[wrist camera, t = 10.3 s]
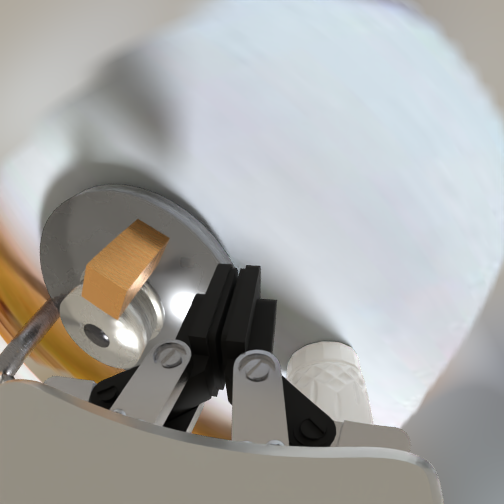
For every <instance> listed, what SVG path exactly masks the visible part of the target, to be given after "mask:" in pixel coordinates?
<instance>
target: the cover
mask: <svg viewBox="0 0 504 504" xmlns="http://www.w3.org/2000/svg"><path fill="white" fill-rule="evenodd" d="M85 270H86V269H85ZM85 270H84V271H83V273H82V275H81V278H80V283H79V284H78V285H77V286H76V287H75V288H74V289H73V290H72V291H71V292H70V293H69V294H68V295H67V296H66V297H65V298H64V300H63V301H62V302H61V304H60V317H61V320H62V323H63V325H64V327H65V329H66V331H67V332H68V334H69V335H70V337H71V338H72V339H73V340H74V342H75V343H76V344H77V345H78V346H79V347H80V348H81V349H82V350H84V351H85V352H86V353H87V354H89V355H90V356H91V357H93V358H94V359H96V360H98V361H100V362H102V363H104V364H106V365H109V366H112V367H115V368H122V369H124V368H131V367H133V366H135V365H136V364H137V362H138V360H139V359H140V357H141V355H142V353H143V351H144V349H145V347H146V345H147V344H148V342H149V340H151V339H153V338H155V337H156V336H157V335H158V334H159V332H160V330H161V329H162V327H163V325H164V321H165V310H164V306H163V303H162V301H161V299H160V297H159V295H158V293H157V292H156V290H155V289H154V287H153V286H152V285H151V284H150V283H149V281H148V280H146V282H145V283H144V284H143V286H142V287H141V288H140V290H139V291H138V292H137V294H136V295H135V297H134V298H133V299H132V301H131V302H130V304H129V305H128V306H127V308H126V309H125V311H124V312H123V313H122V315H121V316H120V318H119V319H118V320H116V319H115V318H113V317H111V316H110V315H108V314H107V313H105V312H104V311H102V310H101V309H99V308H98V307H96V306H95V305H93V304H92V303H90V302H89V301H88V300H86V299H85V298H83V297H82V296H81V295H82V288H83V282H84V276H85Z"/></svg>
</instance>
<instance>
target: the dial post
mask: <svg viewBox="0 0 504 504" xmlns="http://www.w3.org/2000/svg"><path fill="white" fill-rule="evenodd" d="M59 317H60V313H59V312H58V310H57V308H56V307H55V305H54V303H53V301H52V299H51V297H50V298H49V299H48V300H47V301H46V302H45V303H44V304H43V305H42V307H41V308H40V309H39V310H38V311H37V312H36V313H35V314H34V315H33V316H32V318H31V319H30V320H29V321H28V322H27V323H26V324H25V325H24V327H23V328H22V329H21V330H20V331H19V332H18V334H17V335H16V336H15V337H14V338H13V339H12V341H11V342H10V343H9V344H8V346H7V347H6V348H5V349H4V351H3V352H2V353H1V354H0V385H1V384H2V383H3V382H5V381H8V380H14V379H15V378H14V377H13V376H14V375H15V373H16V372H17V371H18V369H19V368H20V367H21V365H22V364H23V362H24V361H25V360H26V358H27V357H28V356H29V354H30V353H31V352H32V351H33V349H34V348H35V347H36V345H37V344H38V343H39V342H40V340H41V339H42V338H43V337H44V335H45V334H46V333H47V332H48V330H49V329H50V328H51V327H52V326H53V324H54V323H55V322H56V321H57V320H58V318H59Z"/></svg>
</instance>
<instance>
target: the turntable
mask: <svg viewBox="0 0 504 504" xmlns="http://www.w3.org/2000/svg"><path fill="white" fill-rule="evenodd" d="M40 263H41V270H42V274H43V278H44V282H45V285H46V287H47V290H48V293H49V295H50V297H51V299H52V301H53V303H54V305H55V307H56V308H57V310H58V312H59V313H60V304H61V302H62V301H63V300H64V298H65V297H66V296H67V295H68V294H69V293H70V292H71V291H72V290H73V289H74V288H75V287H76V286H77V285H78V284H79V283H80V278H81V275H82V273H83V271H84V270H85V269H86V270H85V276H84V282H83V288H82V295H81V296H82V297H83V298H85V299H86V300H88V301H89V302H90V303H92V304H93V305H95V306H96V307H98V308H99V309H101V310H102V311H104V312H105V313H107V314H108V315H110V316H111V317H113V318H115V319H116V320H118V319H119V318H120V316H121V315H122V313H123V312H124V311H125V309H126V308H127V306H128V305H129V304H130V302H131V301H132V299H133V298H134V297H135V295H136V294H137V292H138V291H139V290H140V288H141V287H142V286H143V284H144V283H145V282H146V280H148V281H149V283H150V284H151V285H152V286H153V287H154V289H155V290H156V292H157V293H158V295H159V297H160V299H161V301H162V303H163V306H164V310H165V321H164V325H163V327H162V329H161V330H160V332H159V334H158V335H157V336H156V337H155V338H153V339H151V340H149V342H148V344H147V345H146V347H145V349H144V351H143V353H142V355H141V357H140V359H139V360H138V362H137V364H136V365H135V366H133V367H136V366H138V365H140V364H141V363H142V362H143V360H144V359H145V357H146V356H147V354H148V353H149V352H150V350H151V349H152V348H153V347H154V346H155V345H156V344H157V343H159V342H161V341H164V340H168V339H176V336H177V334H178V332H179V330H180V327H181V325H182V323H183V321H184V318H185V316H186V314H187V312H188V310H189V307H190V305H191V303H192V301H193V299H194V296H195V295H196V294H197V293H199V294H205V293H206V291H207V288H208V286H209V284H210V281H211V279H212V277H213V274H214V272H215V269H216V267H217V265H218V264H219V263H221V264H232V262H231V260H230V258H229V257H228V255H227V253H226V252H225V250H224V249H223V248H222V246H221V245H220V244H219V242H218V241H217V240H216V238H215V237H214V236H213V235H212V234H211V233H210V232H209V231H208V230H207V229H206V227H205V226H204V225H203V224H202V223H200V222H199V221H198V220H197V219H196V218H195V217H193V216H192V215H191V214H190V213H189V212H187V211H186V210H184V209H183V208H181V207H180V206H178V205H177V204H175V203H174V202H172V201H171V200H169V199H167V198H165V197H163V196H161V195H159V194H157V193H154V192H151V191H148V190H146V189H143V188H140V187H135V186H130V185H123V184H107V185H100V186H96V187H93V188H90V189H87V190H85V191H83V192H81V193H79V194H77V195H75V196H74V197H72V198H70V199H68V200H67V201H65V202H63V203H62V204H61V205H60V206H59V207H57V208H56V209H55V210H54V211H53V213H52V214H51V216H50V217H49V218H48V220H47V222H46V225H45V227H44V229H43V233H42V237H41V243H40ZM232 265H233V264H232ZM233 268H235V267H234V265H233ZM133 367H131V368H133ZM131 368H124V370H129V369H131Z"/></svg>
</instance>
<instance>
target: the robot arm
mask: <svg viewBox="0 0 504 504" xmlns="http://www.w3.org/2000/svg"><path fill="white" fill-rule="evenodd" d="M260 276H261V268H260V266H251V265H246V268H245V269H242V268H241V270H240V273H239V276H238V270H237V268H233V265H232V264H221V263H219V264H218V265H217V267H216V269H215V272H214V274H213V277H212V279H211V281H210V284H209V286H208V288H207V291H206V293H205V294H199V293H197V294H196V295H195V296H194V299H193V301H192V303H191V305H190V307H189V310H188V312H187V314H186V316H185V318H184V321H183V323H182V325H181V327H180V330H179V332H178V334H177V336H176V339H168V340H164V341H161V342H159V343H157V344H156V345H155V346H154V347H153V348H152V349H151V350H150V352H149V353H148V354H147V356H146V357H145V359H144V360H143V362H142V363H141V364H140V365H138V366H136V367H133V368H131V369H129V370H126V371H124V372H122V373H119V374H117V375H115V376H112V377H110V378H107V379H105V380H103V381H101V382H99V383H98V384H96V383H95V382H94V381H91V380H82V379H74V378H67V377H60V376H52V377H50V378H48V379H47V380H46V381H45V382H44V383H40V382H37V381H32V380H24V379H14V380H8V381H5V382H3V383H2V384H1V385H0V504H444V503H443V496H442V490H441V485H440V482H439V478H438V475H437V473H436V471H435V469H434V467H433V466H432V465H431V463H430V462H429V461H427V460H426V459H424V458H422V457H420V456H418V455H415V454H412V453H410V438H409V436H408V435H407V433H406V432H405V431H403V430H402V429H399V428H396V427H387V426H379V425H372V424H365V423H358V422H352V421H347V420H344V422H339V421H334V420H332V419H331V418H330V417H329V416H328V415H327V414H326V413H325V412H324V411H322V410H321V409H320V408H319V407H318V406H316V405H315V404H314V403H313V402H312V401H311V400H309V399H308V398H307V397H306V396H305V395H304V394H302V393H301V392H300V391H299V390H298V389H297V388H296V387H295V386H293V385H292V384H291V383H290V382H289V381H288V380H287V379H286V378H284V377H283V376H282V374H281V366H280V363H279V360H278V359H277V358H276V357H275V356H274V355H273V354H272V351H273V342H274V332H275V320H276V305H277V300H268V299H260ZM225 382H226V389H227V396H228V401H229V402H230V404H231V405H232V440H225V439H219V438H213V437H207V436H202V435H197V434H192V433H191V432H192V430H193V428H194V426H195V424H196V422H197V420H198V418H199V416H200V414H201V411H202V409H203V407H204V402H205V401H207V400H209V399H211V396H216V397H217V394H218V391H219V389H220V390H223V389H224V386H225Z"/></svg>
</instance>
